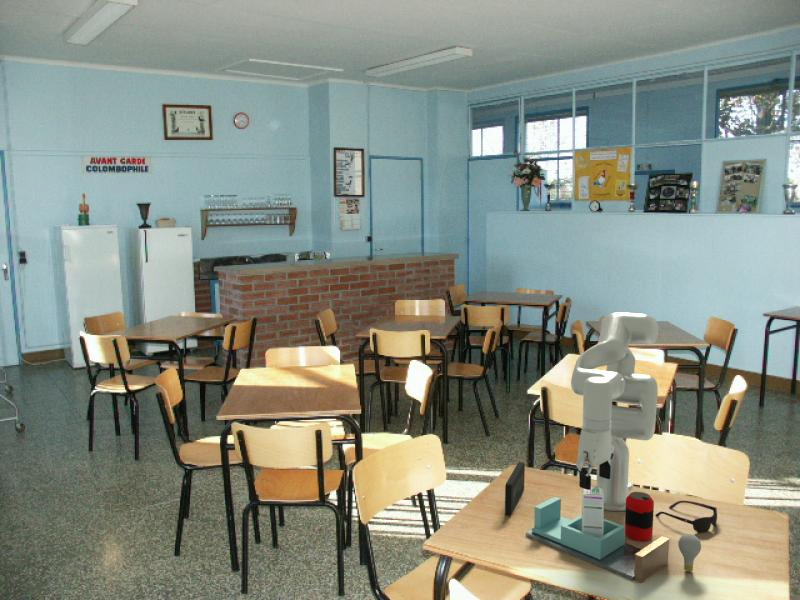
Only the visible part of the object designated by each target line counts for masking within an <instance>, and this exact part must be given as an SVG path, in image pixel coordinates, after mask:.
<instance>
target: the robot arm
mask: <svg viewBox="0 0 800 600" xmlns="http://www.w3.org/2000/svg"><path fill="white" fill-rule="evenodd" d="M658 337H659V324H658V322H657V320H656V319H655V318H654V317H653V316H651V315H649V314H645V313H638V312H637V313H635V312H623V311H622V312H621V311H620V312H618V311H617V312H612V313H609V314H607V316H605V317H603V318H602V319H601V323H600V333H599V337H598V342H597V344H595V345H593V346H591V347H589V348H588V349H587V350H585V351H584V352H582V353H581V354H580V355H579V356H578V358H577V360H576V361H575V364H574V367H573V370H572V375H571V380H570V386H571V390H572V392H573V393H574V394H576V395H578V396H582V422H581V423H582V425H581V431H580V435H579V442H578V449H577V451H578V453H577V460H576V462H575V466H576V469H577V472H578V474H579V483H578V486H579V487H580V488H581V489H583V488H584V489H587V490H590V489H591V486H592V476H591V472H592V470H593V468H596V487H602V488H603V492H604V511H611V512H622V511H625V510H626V498H627V497H628V496H629V494H630V492H631V491H633V490H634V486H633V485H632V484H629V471H630V469H629V467H630V450H629V447H628V445H627V443H626V442H625V440H624V439H628V440H630V439H631V440H636V441H637V440H638V441H649V440H651V439H653V437H654V435H655V434H654V433H655V430H656V421H657V419H656V418H657V408H658V407H657V405H658V395H659V394H658V393H659V387H658V383H657V380H656V378H655V377H654V376H652V375H648V374H643V373H642V374H641V373H636V372H635V369H636V368H635V366H636V357H635V355H634V354H633V352H632V351H631V349H630V348H629V344H635V345H644V346H645V345H646V346H647V345H648V346H649V345H650V346H651V345H654V344H655V342H656V341H657V339H658ZM605 366H606V370H601V369H598V368H600V367H605ZM596 368H597V369H596ZM613 402H614V403H615V402H616V403H622V404H628V405H636V406H640V407H641V408H637V407H629V406H622V405H614V404H613ZM586 467H587V469H586Z"/></svg>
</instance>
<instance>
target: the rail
mask: <svg viewBox="0 0 800 600" xmlns="http://www.w3.org/2000/svg"><path fill="white" fill-rule="evenodd" d="M525 536H526V537H527V538H530V539H532V540H535V541H536V542H537V541H538V542H539V543H542V544H545V545H547V546H550V547H551V548H554V549H557V550H559V551H562V552H564V553H566V554H567V555H568V554H569V555H571V556H572V557H574V558H578V559H580V560H582V561H585V562H588V563H590V564H592V565H595V566H597V567H599V568H602V569H604V570H607V571H609V572H612V573H613V574H616V575H619V576H621V577H622V578H625V577H626V579H628V580H630V581H632V580H633V581H634V582H638V583H640V584H642V583H643V582H645V581H646V580H648V578H651V577H652V576H653V575H654V574H656V573H657V572H659V571H660V570H661V569H663V568H664V567H665V565H666V566H667V565H668V564H669V553H670V551H669V550H670V538H668V537H665V536H663V535H661V537H659V538H657V539H656V540H653V542H651V543H650V544H648V545H646V546H645V547H644V548H640V547H637V546H635V545H632V544H629V543H627V542H625V544H624V545H623V546H621V547H619V548H618V549H616V550H615V551H613V552H612V553H610V554H608V555H607V556H605V557H604V558H602V559H600V560H599V559H597V558H595V557H592V556H590V555H587V554H585V553H582V552H580V551H578V550H575V549H573V548H570V547H568V546H565V545H563V544H561V543H558V542H556V541H553V540H551V539H548V538H546V537H544V536H541V535H539V534H536V533H534V532H532V529H531V530H528V531H526V532H525Z"/></svg>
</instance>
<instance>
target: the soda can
mask: <svg viewBox="0 0 800 600" xmlns="http://www.w3.org/2000/svg"><path fill="white" fill-rule="evenodd" d="M654 507H655V502H654V499H653V498H652V497H651V495H650V494H648V493H646V492H643V491H632V492H631V493H630V492H629V494H628V497H627V498H626V510H624V511H625V513H624V526H625V537H626V538H628V539H630V540H633V541H634V542H648V541H650V540H651V539H652V538H653V531H654V529H653V528H654Z"/></svg>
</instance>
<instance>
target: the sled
mask: <svg viewBox="0 0 800 600" xmlns="http://www.w3.org/2000/svg"><path fill="white" fill-rule="evenodd" d="M561 508H562V498H561V497H557V496H554V497H552V498H550V499H547V500H546V501H544V502H541V503H539V504H537V505H535V506H534V524H533V525H534V526H532V527H531V530H532V532H534V533H536V534H539V535H541V536H544V537H546V538H548V539H551V540H553V541H556V542H558V543H561V544H563V545H565V546H568V547H570V548H573V549H575V550H578V551H580V552H582V553H585V554H587V555H590V556H592V557H595V558H597V559H599V560H600V559H602V558H604V557H605V556H607V555H608V554H610V553H612V552H613V551H615V550H616V549H618V548H619V547H621V546H623V545H624V544H625V543H626V542H625V540H626V535H625V525H622V524H619V523H617V522H614V521H611V520H608V519H605V518H604V529H603V536H602V537H600V538H597V537H595V536H592V535H590V534H587V533H585V532H582V514H580V515H578V516H577V517H574V518H573V519H570V518H566V517H564V516H562V513H561V512H562V511H561V510H562V509H561Z"/></svg>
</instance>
